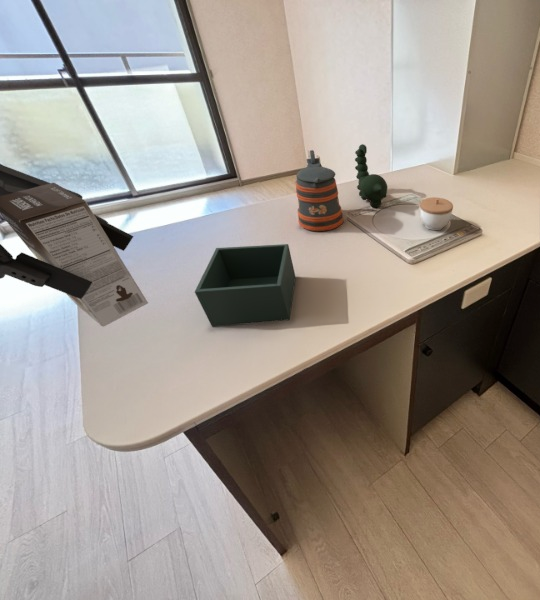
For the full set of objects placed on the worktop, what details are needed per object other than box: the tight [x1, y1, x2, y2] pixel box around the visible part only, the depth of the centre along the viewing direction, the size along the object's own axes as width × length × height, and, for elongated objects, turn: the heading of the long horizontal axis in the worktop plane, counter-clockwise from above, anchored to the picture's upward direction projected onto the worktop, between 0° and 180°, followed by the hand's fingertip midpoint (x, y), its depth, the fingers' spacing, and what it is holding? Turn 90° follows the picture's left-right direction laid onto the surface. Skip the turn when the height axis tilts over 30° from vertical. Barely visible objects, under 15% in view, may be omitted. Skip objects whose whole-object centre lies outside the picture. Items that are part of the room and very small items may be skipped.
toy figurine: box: [354, 143, 388, 208], centre depth 118 cm, size 9×19×25 cm
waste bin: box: [194, 243, 296, 328], centre depth 75 cm, size 17×17×10 cm
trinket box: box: [419, 196, 454, 231], centre depth 107 cm, size 11×11×9 cm
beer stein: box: [295, 149, 344, 232], centre depth 105 cm, size 19×15×20 cm
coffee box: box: [0, 182, 149, 327], centre depth 43 cm, size 9×6×16 cm
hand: (109, 265), depth 44 cm, fingers closed on coffee box, 10 cm apart
